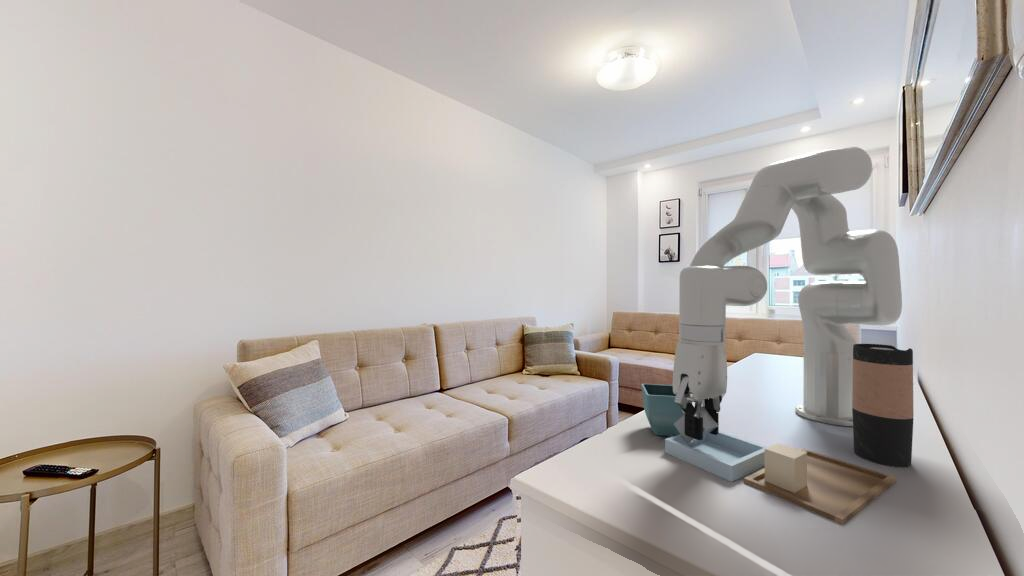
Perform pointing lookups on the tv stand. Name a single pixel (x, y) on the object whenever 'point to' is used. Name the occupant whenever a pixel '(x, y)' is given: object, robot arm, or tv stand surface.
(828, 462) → the walnut tray
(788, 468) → the cream rectangular block
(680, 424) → the gray block
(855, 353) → the travel mug
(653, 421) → the flower pot
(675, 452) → the light blue tray
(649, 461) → the tv stand surface
